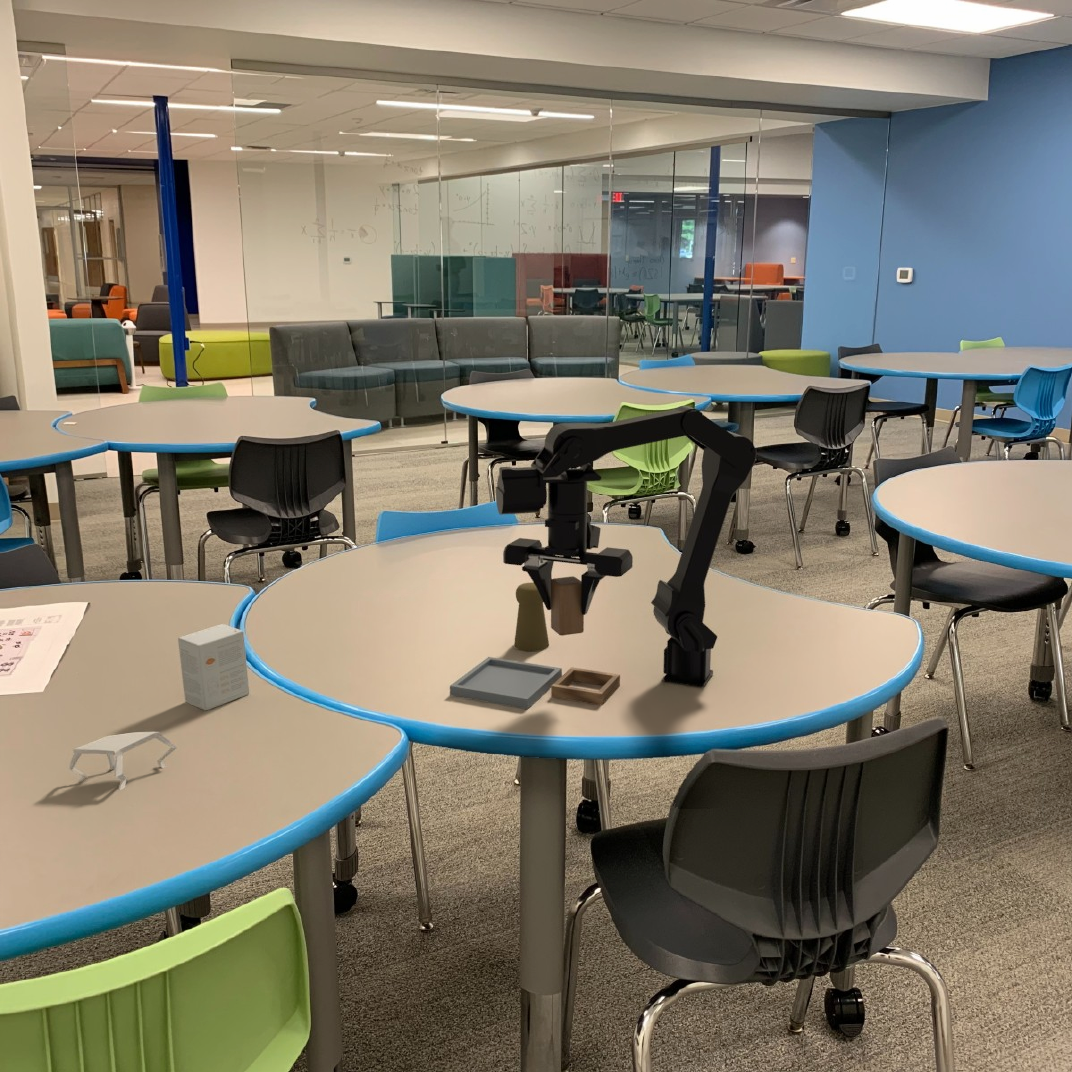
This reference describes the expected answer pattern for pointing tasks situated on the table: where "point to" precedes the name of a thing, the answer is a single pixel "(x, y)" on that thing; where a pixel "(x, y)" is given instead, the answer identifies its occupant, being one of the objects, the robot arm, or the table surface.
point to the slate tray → (506, 682)
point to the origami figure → (118, 750)
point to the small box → (213, 666)
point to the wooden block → (566, 606)
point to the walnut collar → (584, 695)
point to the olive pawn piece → (530, 620)
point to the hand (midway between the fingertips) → (567, 611)
